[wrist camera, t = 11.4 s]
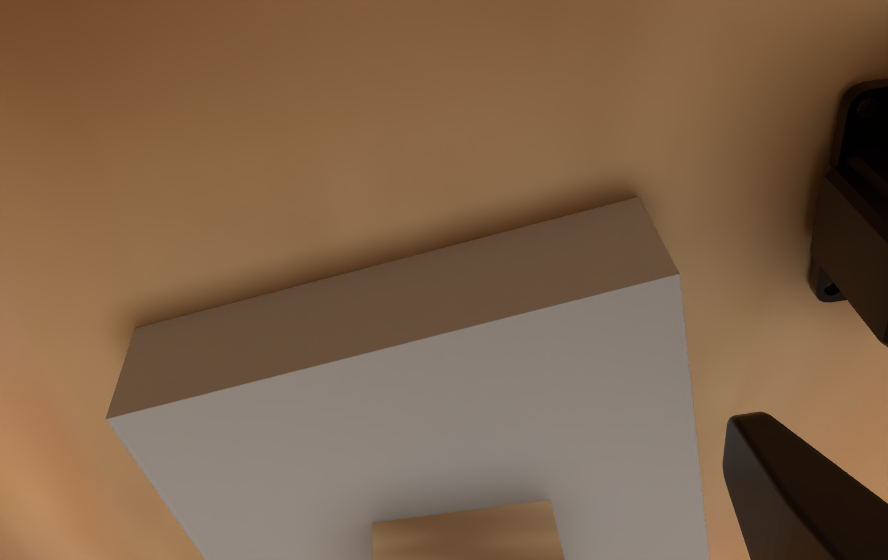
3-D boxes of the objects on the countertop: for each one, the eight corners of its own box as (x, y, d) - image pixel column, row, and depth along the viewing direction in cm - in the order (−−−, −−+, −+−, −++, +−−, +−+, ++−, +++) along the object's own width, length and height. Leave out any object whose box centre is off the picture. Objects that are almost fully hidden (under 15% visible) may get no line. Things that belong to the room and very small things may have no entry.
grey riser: (632, 187, 23) (680, 273, 19) (684, 572, 33) (720, 669, 30) (138, 316, 24) (105, 419, 20) (341, 649, 34) (341, 752, 31)
